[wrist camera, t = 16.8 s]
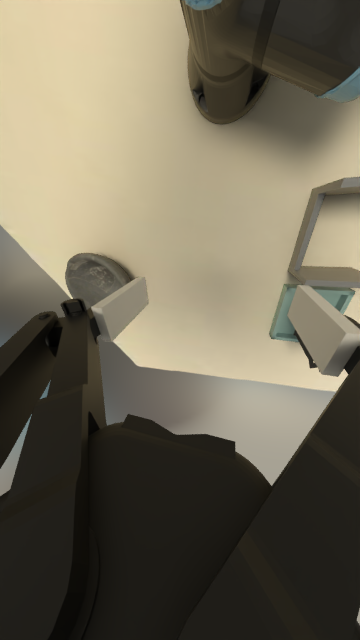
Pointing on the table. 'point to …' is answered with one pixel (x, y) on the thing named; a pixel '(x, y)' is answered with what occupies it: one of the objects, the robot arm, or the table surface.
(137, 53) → the table surface
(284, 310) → the tray
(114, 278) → the bowl
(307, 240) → the dock
